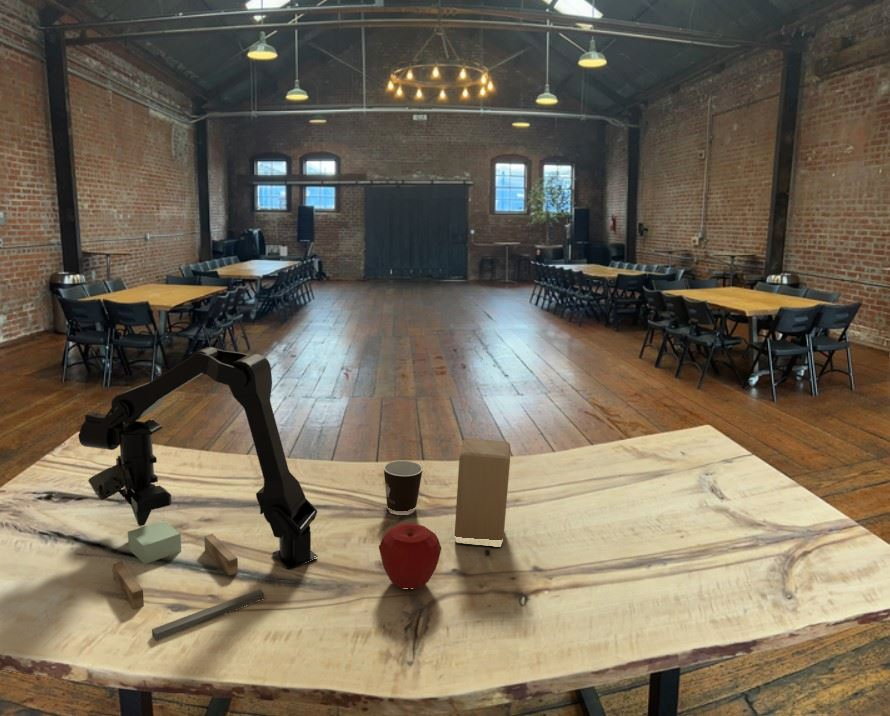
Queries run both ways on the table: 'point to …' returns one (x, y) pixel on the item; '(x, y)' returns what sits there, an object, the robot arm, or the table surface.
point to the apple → (409, 554)
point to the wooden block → (482, 489)
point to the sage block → (154, 541)
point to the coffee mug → (402, 484)
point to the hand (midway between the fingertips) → (141, 525)
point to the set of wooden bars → (231, 567)
